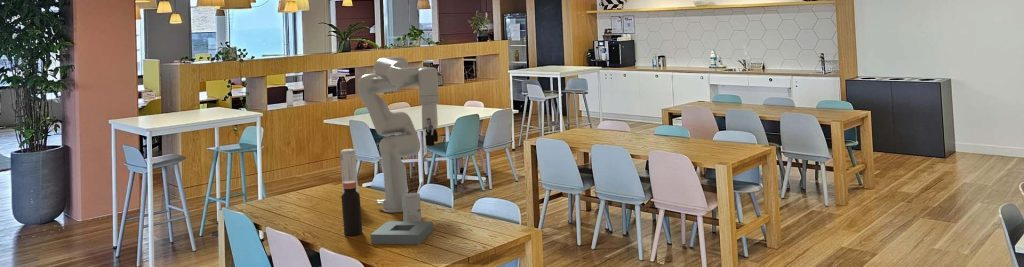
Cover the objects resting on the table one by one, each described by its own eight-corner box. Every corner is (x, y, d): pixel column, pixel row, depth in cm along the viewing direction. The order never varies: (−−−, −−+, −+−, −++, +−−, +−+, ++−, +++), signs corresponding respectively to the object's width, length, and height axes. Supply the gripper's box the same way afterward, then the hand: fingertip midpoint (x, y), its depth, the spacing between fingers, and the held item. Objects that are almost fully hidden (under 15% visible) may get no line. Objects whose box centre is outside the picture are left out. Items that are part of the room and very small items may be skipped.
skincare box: (408, 226, 299) (406, 196, 297) (403, 224, 303) (400, 194, 301) (422, 223, 302) (420, 193, 301) (417, 221, 306) (415, 191, 304)
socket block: (371, 243, 278) (370, 234, 277) (387, 230, 295) (387, 221, 295) (419, 244, 274) (418, 234, 274) (433, 230, 292) (432, 221, 291)
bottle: (340, 234, 292) (336, 182, 289) (354, 230, 297) (350, 179, 294) (352, 237, 288) (348, 184, 285) (366, 232, 293) (362, 181, 290)
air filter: (343, 205, 340) (339, 149, 336) (358, 203, 342) (354, 148, 338) (344, 208, 334) (340, 151, 330) (360, 206, 335) (355, 150, 332)
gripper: (423, 98, 305) (425, 140, 308) (415, 102, 288) (418, 147, 291) (441, 97, 305) (444, 139, 307) (435, 101, 288) (438, 146, 290)
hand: (432, 143), depth 299 cm, fingers open, 9 cm apart
